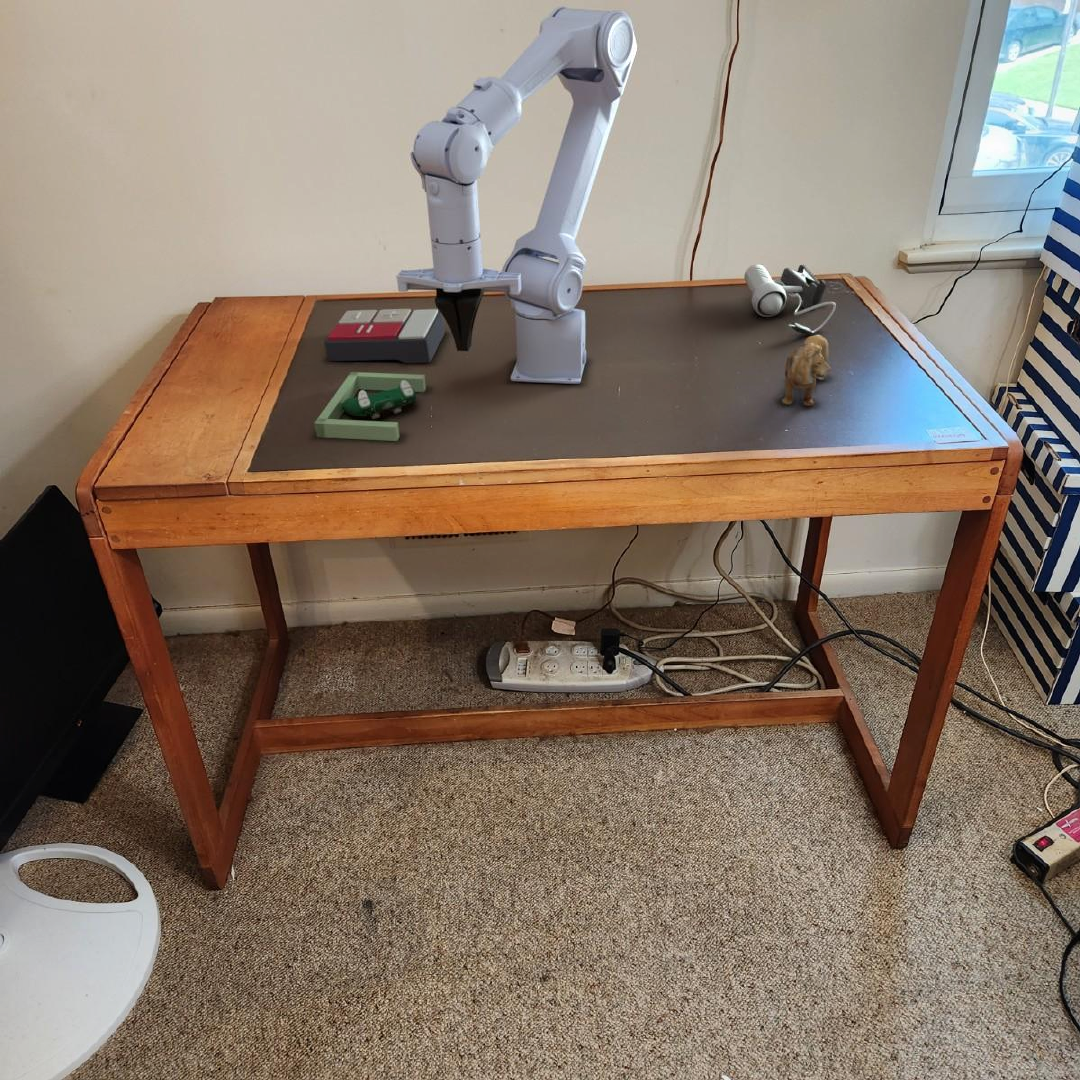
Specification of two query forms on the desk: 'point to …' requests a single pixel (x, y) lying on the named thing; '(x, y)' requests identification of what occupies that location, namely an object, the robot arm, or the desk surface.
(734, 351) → the desk surface
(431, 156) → the robot arm
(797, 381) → the lion figurine
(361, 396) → the gaming controller
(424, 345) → the calculator
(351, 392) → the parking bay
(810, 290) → the clip-on lamp
